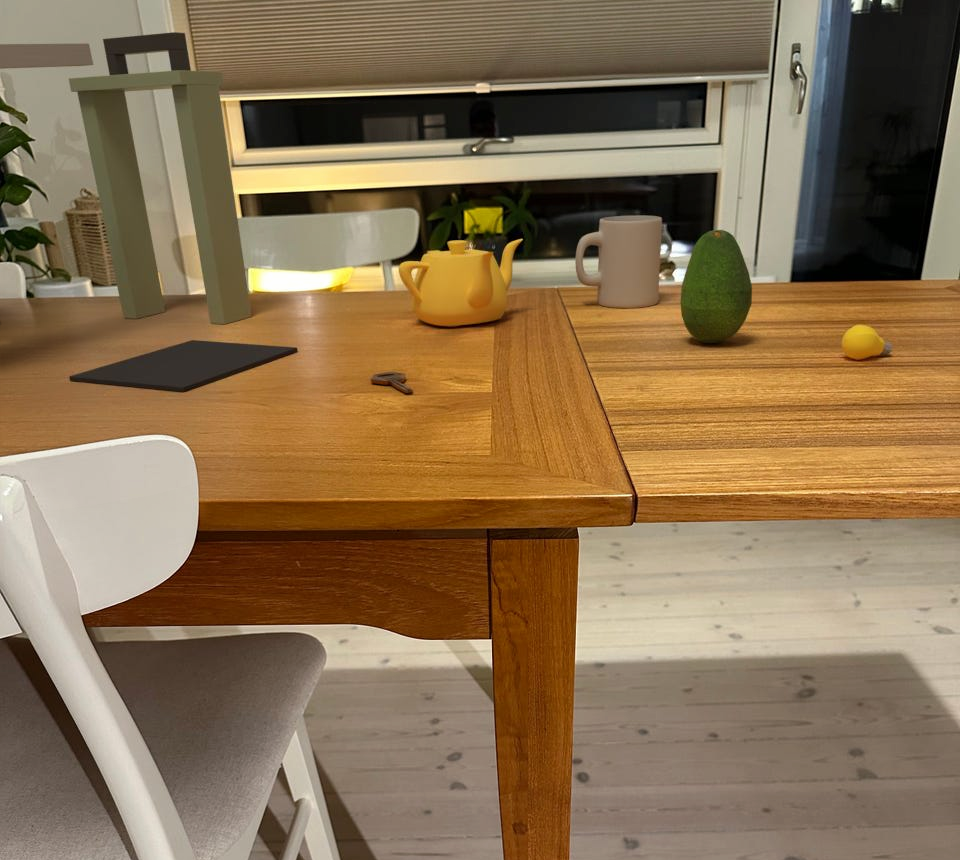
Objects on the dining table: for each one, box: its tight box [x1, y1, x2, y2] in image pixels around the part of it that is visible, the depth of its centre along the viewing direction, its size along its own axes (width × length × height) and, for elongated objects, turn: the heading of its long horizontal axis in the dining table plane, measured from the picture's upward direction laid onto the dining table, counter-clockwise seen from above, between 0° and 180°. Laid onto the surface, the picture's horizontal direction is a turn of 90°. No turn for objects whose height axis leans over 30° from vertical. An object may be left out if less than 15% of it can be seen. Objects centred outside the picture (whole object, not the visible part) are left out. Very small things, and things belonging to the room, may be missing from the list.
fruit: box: [679, 229, 753, 344], centre depth 107 cm, size 8×8×12 cm
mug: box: [574, 215, 663, 309], centre depth 132 cm, size 12×8×11 cm
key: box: [370, 371, 414, 394], centre depth 96 cm, size 4×8×1 cm, turn 26°
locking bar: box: [0, 42, 94, 70], centre depth 105 cm, size 2×24×2 cm, turn 154°
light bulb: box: [841, 324, 893, 361], centre depth 100 cm, size 3×6×4 cm, turn 108°
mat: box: [68, 339, 299, 393], centre depth 108 cm, size 16×20×1 cm
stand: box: [68, 31, 252, 325], centre depth 129 cm, size 18×8×34 cm, turn 64°
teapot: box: [398, 238, 524, 328], centre depth 125 cm, size 14×13×10 cm
